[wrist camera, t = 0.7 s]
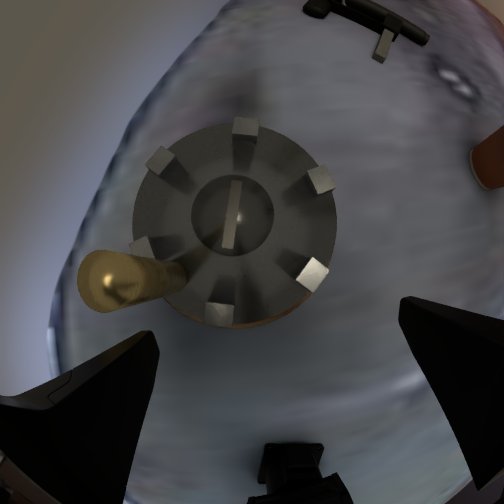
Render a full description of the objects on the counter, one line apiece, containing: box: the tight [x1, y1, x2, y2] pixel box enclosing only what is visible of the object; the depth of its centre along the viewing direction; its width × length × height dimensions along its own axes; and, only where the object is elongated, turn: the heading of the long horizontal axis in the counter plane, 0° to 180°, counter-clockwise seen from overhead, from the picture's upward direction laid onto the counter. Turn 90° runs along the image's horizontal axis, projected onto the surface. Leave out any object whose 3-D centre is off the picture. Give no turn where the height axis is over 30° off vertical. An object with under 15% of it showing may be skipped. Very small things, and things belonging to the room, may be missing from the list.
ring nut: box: [77, 117, 337, 328], centre depth 17 cm, size 16×16×14 cm
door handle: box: [303, 0, 430, 64], centre depth 27 cm, size 3×20×16 cm
